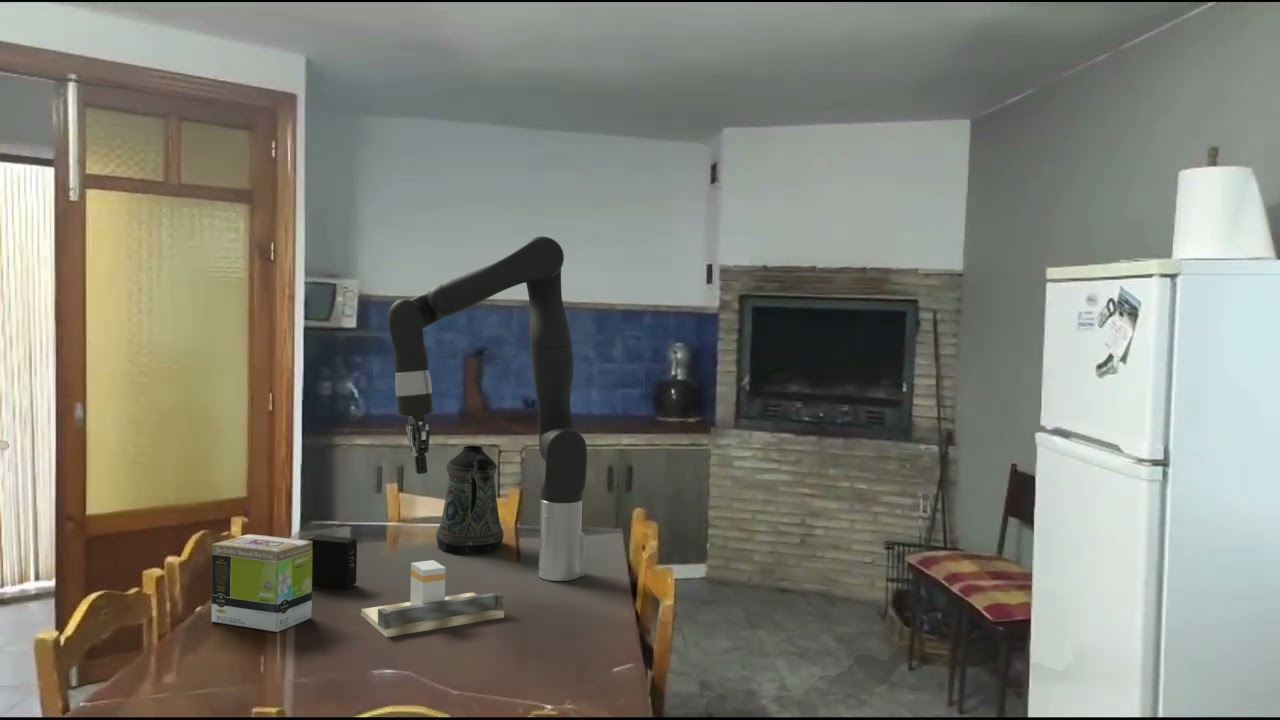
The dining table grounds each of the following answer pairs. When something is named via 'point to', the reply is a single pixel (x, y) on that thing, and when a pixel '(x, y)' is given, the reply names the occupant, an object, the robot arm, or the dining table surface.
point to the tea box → (262, 582)
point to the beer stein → (470, 506)
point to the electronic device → (333, 561)
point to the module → (427, 582)
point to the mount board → (428, 624)
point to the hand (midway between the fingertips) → (421, 473)
